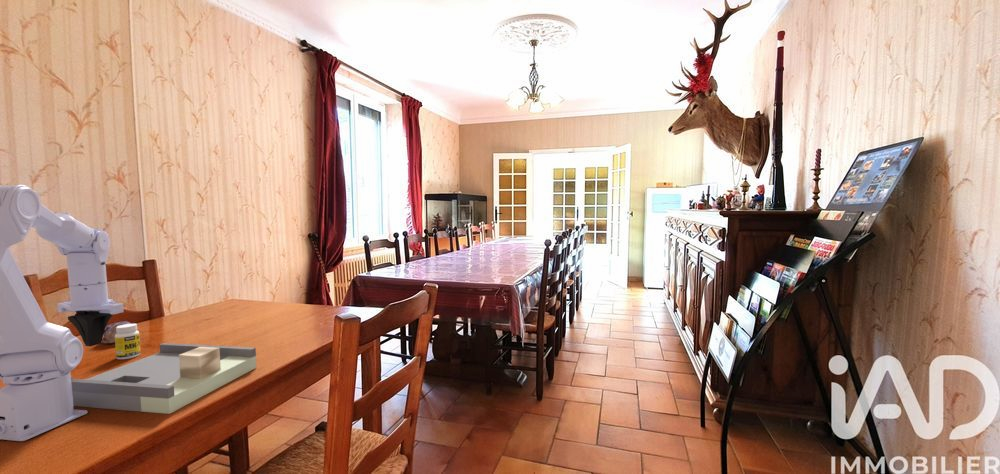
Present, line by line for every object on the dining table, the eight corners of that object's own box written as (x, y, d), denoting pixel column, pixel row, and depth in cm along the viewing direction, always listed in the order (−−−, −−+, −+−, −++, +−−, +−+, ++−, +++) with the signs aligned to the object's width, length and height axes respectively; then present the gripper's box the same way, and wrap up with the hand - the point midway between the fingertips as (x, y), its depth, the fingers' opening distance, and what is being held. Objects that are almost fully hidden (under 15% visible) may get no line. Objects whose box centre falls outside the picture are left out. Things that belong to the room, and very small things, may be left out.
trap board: (169, 413, 75) (167, 388, 75) (57, 404, 79) (55, 380, 79) (256, 367, 97) (255, 347, 96) (165, 362, 101) (163, 342, 100)
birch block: (200, 379, 83) (199, 356, 83) (180, 377, 84) (178, 354, 84) (220, 369, 88) (219, 347, 88) (201, 368, 89) (200, 346, 89)
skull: (102, 338, 120) (100, 318, 119) (136, 332, 125) (134, 313, 125) (100, 348, 111) (98, 327, 111) (137, 341, 117) (135, 321, 116)
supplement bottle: (125, 360, 102) (123, 328, 101) (111, 359, 103) (108, 327, 102) (145, 353, 106) (143, 323, 106) (131, 352, 107) (129, 322, 107)
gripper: (136, 280, 88) (140, 340, 89) (82, 279, 90) (87, 337, 91) (100, 287, 81) (105, 351, 82) (42, 285, 83) (48, 348, 84)
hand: (93, 344), depth 86 cm, fingers closed
